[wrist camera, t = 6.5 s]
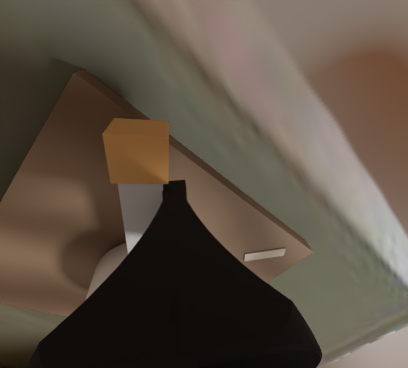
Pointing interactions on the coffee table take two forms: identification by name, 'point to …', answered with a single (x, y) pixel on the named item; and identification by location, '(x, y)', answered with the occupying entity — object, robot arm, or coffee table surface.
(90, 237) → the post board
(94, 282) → the white handled piece
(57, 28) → the coffee table surface
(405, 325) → the coffee table surface
